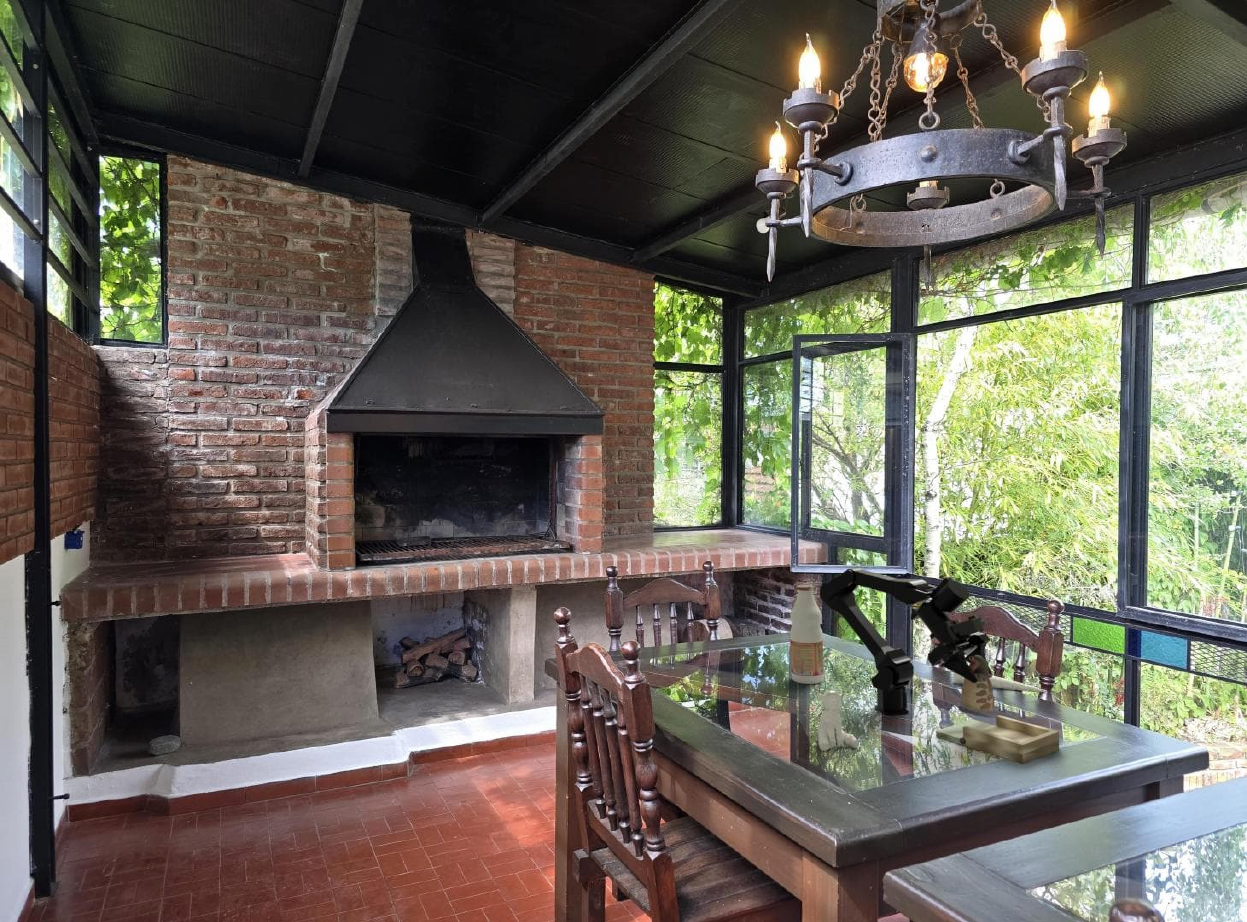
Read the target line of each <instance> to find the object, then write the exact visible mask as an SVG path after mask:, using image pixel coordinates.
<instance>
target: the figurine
mask: <svg viewBox="0 0 1247 922" xmlns="http://www.w3.org/2000/svg"><path fill="white" fill-rule="evenodd" d="M969 660H970V662H971V664H970V663H969V664H968V666H969V667H970V669H971V670H972V672H973V673H974V675H975V676H976V678H977V680H978V681H977V682H976V683H973V682H971V681H969V680H967V679H966V678H964V682H963V684H962V688H961V696H960V697H961V704H962V706H963V707H964V708H966V709H968V710H972V711H977V712H990V711H994V709H995V696H994V690H993V689H994V688H992V684H991V681H990V679H989V678H990V677H992V675H993V674H992V675H991V674H989V670H988V665H989V666H990V662H989V661H988V660H987V659H986V660H987V661H986V660H985V659H984V658H983V657H982V656H979V655H974V656H972V657H969Z"/></svg>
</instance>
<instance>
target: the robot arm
mask: <svg viewBox="0 0 1247 922" xmlns="http://www.w3.org/2000/svg"><path fill="white" fill-rule="evenodd" d="M858 587H863V588H867V589H870V590H875V591H877V592H880V593H881V592H882V593H883V594H884V593H885V594H888V595H889V596H892V597H893V598H894V600H896V601H898V602H900V603H903V604H904V605H907V606H911V605H912V606H913V605H917V604H920V605H919V606H918V607H914V608H911V614H910V620H911V621H913V620H914V621H915V620H918V619H920V620H921V621H922V622H923V624H924V625H925V627H926V628H927V629H928V630H929V632H930V634H929V637H930V639H931V640H933V639H936V641H937V642H938V643H939V644H937V645H936V646H935V647H934V648H933V649H932V650H931V651H929V652H928V653H927V661H928V662H929V663H930V665H931V666H932V667H934V666H935V667H936V666H938V665H940V666H941V668H945V669H948V670H950V671H951V672H953V673H954V672H955V673H957V674H959V675H960V676H962V677H964V678H966V679H967V680H969V681H971V682H973V683H976V682H977V681H978V680H977V678H976V676H975V675H974V673H973V672H972V670H971V669H970V667H969V665H970V664H971V662H970V660H969V657H972V656H974V655H979V656H982V657H983V658H984V659H985V660H986V661H988V660H987V658H986V655H985V649H986V647H987V644H989V643H990V642H991V638H990V637H989V635H988V634H987V633H986V632H983V631H985V628H984V627H985V623H986V621H985V620H984V619H983V617H981V616H980V615H979V614H972V615H970V616H968V619H967V620H965V621H962V622H960V621H959V620H958V619H952V618H951V616H949V615H948V613H951V614H953V613H955V611H956V610H957V609H959V608H960V607H961V605H963V604H964V603H965V602H966V601H967V600H968V599H969V598H970V592H969V591H968V589H967V588H966V586H965V585H962V584H961V583H960V582H958V581H956V580H953V578H952V577H951V576H947V577H944V578H943V579H942V580H941V581H940V583H939V584H938V585H937V586H933V585H931V584H928V582H927V581H926V580H924V579H919V578H896V577H892V576H888V575H884V574H881V573H878V572H873V571H869V570H866V569H864V568H861V567H852V568H848V569H846V570H844V571H843V572H842V573H841V574H840V575H838V576H836V577H834V578H833V579H831V580H829V581H828V582H824V583H823V584H822V585H820V589H819V599H820V600H821V601H822V602H823V603H824V604H825V605H826V606H827V607H828V608H829V609H830V610H832V611H835V612H836V613H838V614H839V615H840V616H841V617H842V618H843V619H844V620H845V622H846V623H847V624H848V625H849V627H850V628H851V629H852V630H853V632H854V633H855V634H856V636H857V637H858V638H859V639H860V641H861V642H862V643H863V645H864V646H865V647H866V649H867V650H868V651H869V652H870V654H871V656H872V657H873V660H874V664H875V669H876V671H877V673H876V674H875V675H874V676H873V677H872V678H871V679H870V680H871V684H872V688H875V689H876V700H877V702H876V703H877V704H876V705H874V709H876V710H878V711H879V712H881V713H883V714H885V715H897V714H898V715H899V714H910V710H908V692H906V686H909V684H910V681H911V679H912V678H913V677H914V670H915V668H914V667H915V666H914V664H913V662H912V659H911V658H910V657H909V656H908V655H907V654H906V652H905V650H904V649H903V648H901V647H898V648H893V647H891V646H890V645H889V644H888V643H887V642H886V640H885V638H883V636H882V635H881V633H880V632H879V631H878V630H877V629H876V628H875V626H874V625H873V623H871V621H870V619H868V618H867V616H866V615H865V614H864V612H863V611H862V609H861V608H859V606H858V604H857V603H856V595H855V593H854V592H855V591H856V590H857V588H858ZM929 599H930V600H929ZM928 600H929V601H928ZM921 603H922V604H921ZM965 655H966V656H965ZM941 661H943V662H942V663H941ZM968 663H969V664H968ZM988 670H989V674H991V675H993V674H992V670H991V668H990V664H989V665H988ZM990 678H991V677H990Z"/></svg>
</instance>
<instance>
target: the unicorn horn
mask: <svg viewBox="0 0 1247 922" xmlns="http://www.w3.org/2000/svg"><path fill="white" fill-rule="evenodd" d="M989 679H990V681H991V684H992V689H1003V690H1013V691H1016V690H1017V691H1023V692H1031V693H1032V692H1033V693H1048V691H1047V690H1045V689H1042V688H1039V687H1036V686H1032V685H1029V684H1025V683H1022V682H1018V681H1016V680H1010V679H1007V678H1003V677H999V676H996V675H993V674H992V677H991V678H989ZM952 680H953V683H954V684H957V685H963V682H964V677H962V676H960V675H959V674H957V673H955V672H953V676H952Z"/></svg>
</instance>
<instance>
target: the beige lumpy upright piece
mask: <svg viewBox="0 0 1247 922" xmlns="http://www.w3.org/2000/svg"><path fill="white" fill-rule="evenodd" d="M842 694H843V693H838V692H837V691H834V690H832V689H831V690H826V691H824V693H823V694H822V693H817V694H816V695H817V698H818V699H819V700H821V705H822V708H824V710H823V711H822V713H821V716H820V720H819V721H820V722H819V724H818V727H817V732H816V734H817V739H818V740H817V741H818V743H817V744H818V747H819V749H820V750H821V751H824V752H827V750H829V749H833V748H836V747H839V748H841V747H842V748H843V747H850V748H852V749H857V748H858V747H859V744H860V743H859V742H860V741H859V740H858V739H857V738H856V737H855V736H854V734H852V733H847V732H845V731H844V729H843V728H842V726H843V725H842V722H843V720H842V717H841V715H840V709H841V708H842V706H843V703H842Z"/></svg>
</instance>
